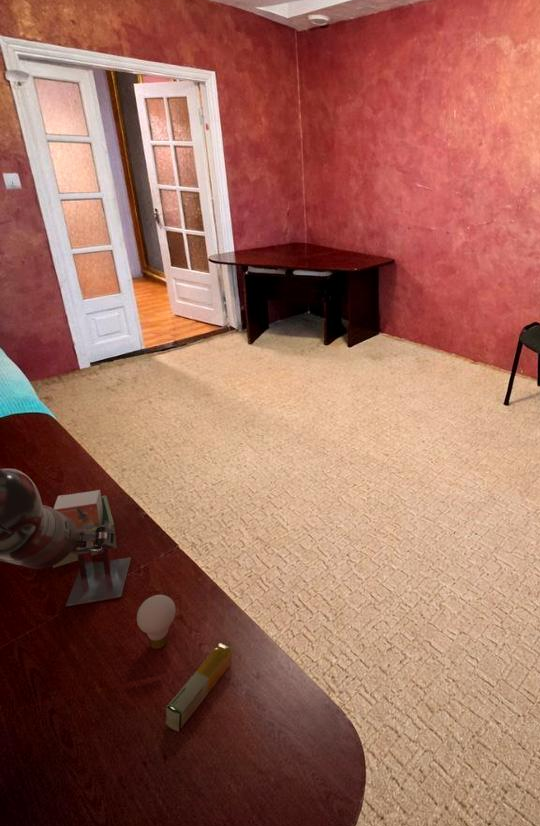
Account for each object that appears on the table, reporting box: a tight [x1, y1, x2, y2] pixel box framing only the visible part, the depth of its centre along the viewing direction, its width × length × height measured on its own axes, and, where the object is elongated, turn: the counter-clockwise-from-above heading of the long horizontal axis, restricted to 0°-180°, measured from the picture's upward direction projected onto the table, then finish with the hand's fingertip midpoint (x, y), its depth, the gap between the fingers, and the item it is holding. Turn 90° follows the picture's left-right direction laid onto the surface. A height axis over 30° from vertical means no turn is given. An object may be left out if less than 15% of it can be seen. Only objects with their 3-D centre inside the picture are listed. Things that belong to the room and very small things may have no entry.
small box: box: [52, 489, 104, 529], centre depth 104 cm, size 8×6×10 cm
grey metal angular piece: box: [65, 522, 132, 609], centre depth 93 cm, size 11×9×13 cm
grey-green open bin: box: [52, 495, 118, 569], centre depth 105 cm, size 12×11×7 cm
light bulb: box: [136, 594, 177, 650], centre depth 82 cm, size 6×6×10 cm
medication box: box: [165, 642, 233, 733], centre depth 75 cm, size 12×3×4 cm, turn 160°
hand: (71, 550), depth 79 cm, fingers open, 8 cm apart
